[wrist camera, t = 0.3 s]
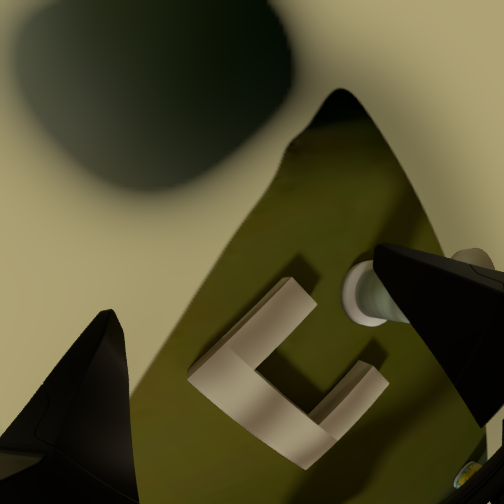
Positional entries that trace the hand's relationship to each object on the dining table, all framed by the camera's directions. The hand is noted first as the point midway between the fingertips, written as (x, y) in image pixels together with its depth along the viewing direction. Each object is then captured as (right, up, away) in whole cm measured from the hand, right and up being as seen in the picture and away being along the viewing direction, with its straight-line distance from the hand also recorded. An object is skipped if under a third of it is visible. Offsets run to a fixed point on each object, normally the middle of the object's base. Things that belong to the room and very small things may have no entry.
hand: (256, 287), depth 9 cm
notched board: (+3, -10, +15) cm, 18 cm away
